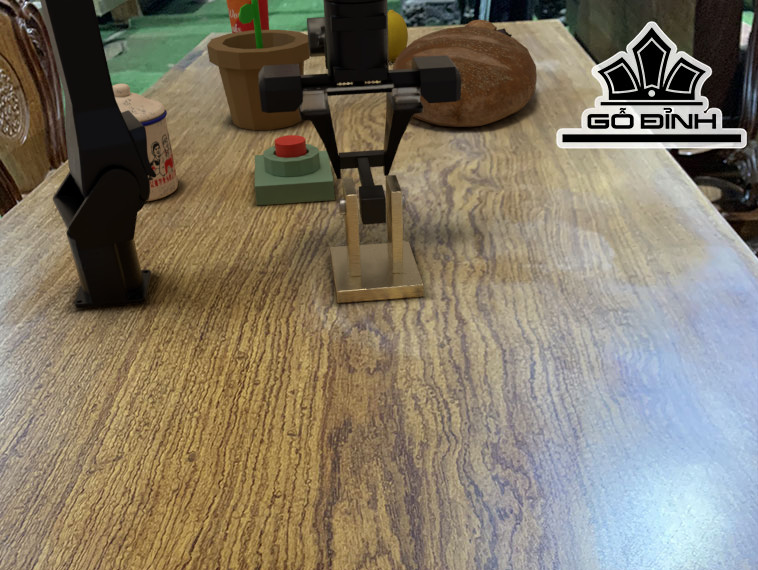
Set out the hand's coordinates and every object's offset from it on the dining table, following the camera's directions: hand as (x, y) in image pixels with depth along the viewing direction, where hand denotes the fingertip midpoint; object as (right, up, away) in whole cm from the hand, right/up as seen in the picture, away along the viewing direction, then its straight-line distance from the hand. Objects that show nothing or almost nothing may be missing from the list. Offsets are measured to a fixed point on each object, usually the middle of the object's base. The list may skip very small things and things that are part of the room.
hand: (362, 176), depth 84 cm
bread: (+14, +30, +44) cm, 55 cm away
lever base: (+1, -11, -4) cm, 12 cm away
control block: (-9, +5, +16) cm, 19 cm away
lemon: (+4, +45, +61) cm, 76 cm away
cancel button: (-9, +8, +14) cm, 18 cm away
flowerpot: (-15, +23, +37) cm, 46 cm away
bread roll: (+20, +54, +71) cm, 91 cm away
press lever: (+1, -3, -4) cm, 5 cm away
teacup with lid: (-27, +6, +17) cm, 33 cm away
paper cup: (-20, +43, +61) cm, 77 cm away
